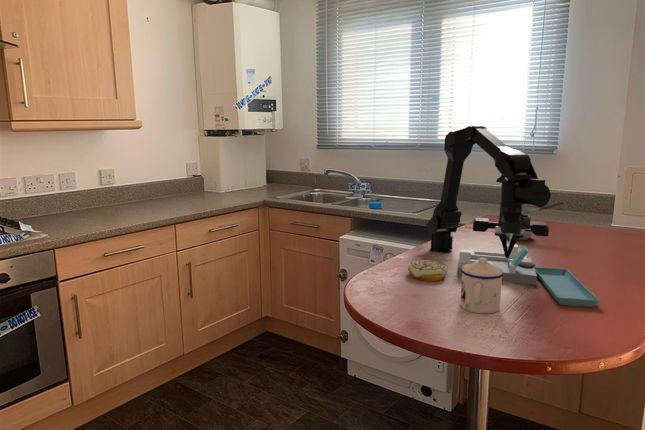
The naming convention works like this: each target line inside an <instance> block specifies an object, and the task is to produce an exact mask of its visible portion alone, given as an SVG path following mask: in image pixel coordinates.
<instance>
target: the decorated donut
mask: <svg viewBox="0 0 645 430" xmlns="http://www.w3.org/2000/svg"><path fill="white" fill-rule="evenodd" d="M447 269H448V268H447V266H446V265H445V264H443V263H442V262H439V261H435V260H431V259H423V260H422V259H421V260H419V259H418V260H413V261H411V262H409V264H407V270H408V273H409V274H410V276H411V277H413V278H414V279H417V280H420V281H425V282H439V281H442V280H443V279H444V278H445V277H446V275H447V272H448V271H447Z"/></svg>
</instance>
